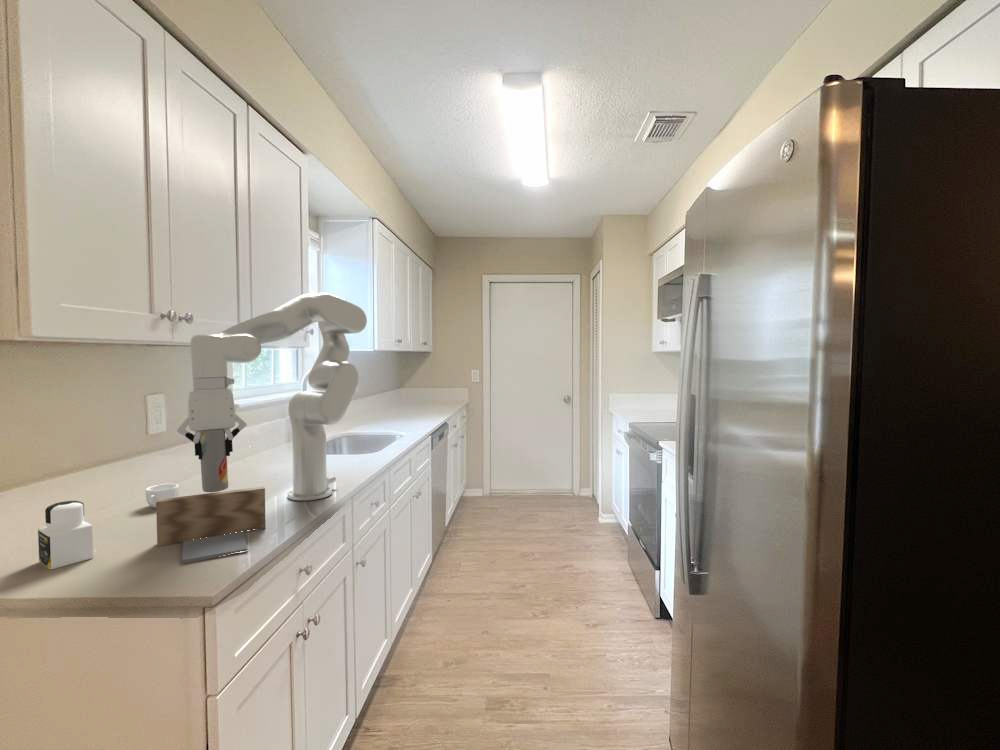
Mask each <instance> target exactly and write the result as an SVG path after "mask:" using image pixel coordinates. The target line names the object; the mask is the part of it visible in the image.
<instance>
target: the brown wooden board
mask: <svg viewBox="0 0 1000 750" xmlns="http://www.w3.org/2000/svg"><path fill="white" fill-rule="evenodd" d="M155 509H156V510H155V511H156V512H155V513H156V515H155V516H156V547H161V546H167V545H173V543H174V544H179V543H178V542H180V543H183V541H188V540H193V539H200V538H206V537H213V536H219V535H224V534H230V533H235V532H241V531H247V530H253V529H260V530H262V529H261V528H266V488H265V486H258V487H250V488H241V489H233V490H223V491H218V492H207V493H202V494H199V493H198V494H192V495H185V496H184V495H183V496H178V497H175V498H167V499H159V500H157V501H156V508H155Z"/></svg>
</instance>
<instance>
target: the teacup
mask: <svg viewBox="0 0 1000 750" xmlns="http://www.w3.org/2000/svg"><path fill="white" fill-rule="evenodd" d="M179 488H180V486H179V484H177V483H160V484H157V485H151V486H148V487H146V488H145V498H146V499H145V500H146V502H147V504H148V506H149V507H150V508H153V507H154V508H153V509H156V501H157V500H159V499H167V498H175V497H179V493H180V492H179V491H180V490H179Z"/></svg>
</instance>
